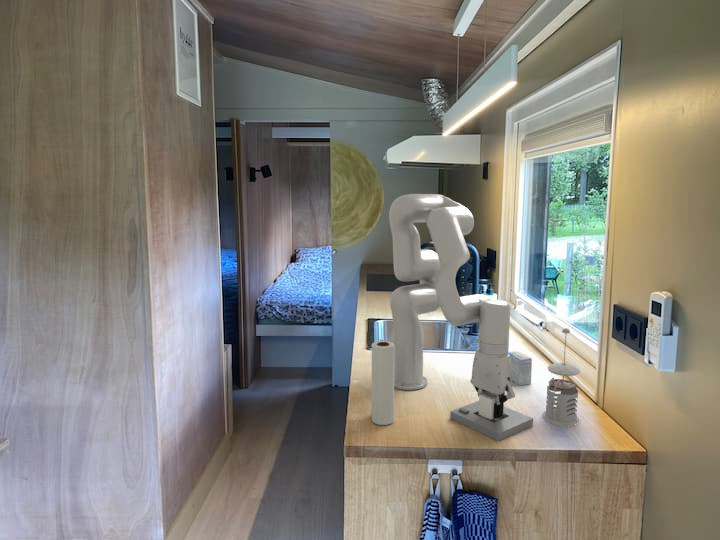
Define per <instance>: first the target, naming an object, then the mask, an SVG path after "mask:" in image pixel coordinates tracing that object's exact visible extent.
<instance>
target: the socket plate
mask: <svg viewBox="0 0 720 540" xmlns="http://www.w3.org/2000/svg"><path fill="white" fill-rule="evenodd" d="M449 414H450V415H449V416H450V417H449V418H450V419H451V420H453V421H455V422H457V423H459V424H462V425H464V426H466V427H468V428H469V429H472V430H474V431H476V432H477V433H478V432H479V433H481V434H483V435H484V436H487V437H489V438H491V439H493V440H495V441H497V442H500V441H502V440H504V439H507V438H508V437H511V436H513V435H515V434H517V433H520V432H522V431H524V430H526V429H528V428H531V427H533V425H534V418H533V417H531V416H529V415H527V414H523V413H521V412H518V411H517V410H513V409H511V408H509V407H506V406H504V407H503V416H501V417H499V418H496V419H495V418H494V419H491V420H490V419H488V418H486V417H483V416H481V415H479V400H476V401H474V402H471V403H469V404H466V405H464V406H461V407H458V408H455V409H453V410H450V413H449Z"/></svg>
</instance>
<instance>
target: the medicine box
mask: <svg viewBox="0 0 720 540" xmlns="http://www.w3.org/2000/svg"><path fill="white" fill-rule="evenodd" d="M508 354H509V355H510V358H511V365H512V382H514V383H516V385H519V386H525V385H531V384H532V364H533V363H532V361H533V358H532V357H530V356H528V355H526V354H524V353H522V352H520V351H516V350H515V351H508Z"/></svg>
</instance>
